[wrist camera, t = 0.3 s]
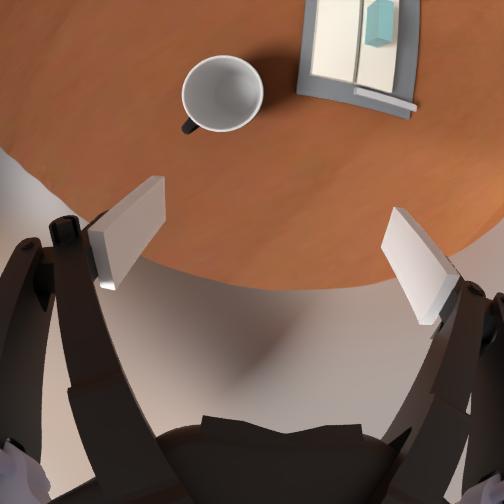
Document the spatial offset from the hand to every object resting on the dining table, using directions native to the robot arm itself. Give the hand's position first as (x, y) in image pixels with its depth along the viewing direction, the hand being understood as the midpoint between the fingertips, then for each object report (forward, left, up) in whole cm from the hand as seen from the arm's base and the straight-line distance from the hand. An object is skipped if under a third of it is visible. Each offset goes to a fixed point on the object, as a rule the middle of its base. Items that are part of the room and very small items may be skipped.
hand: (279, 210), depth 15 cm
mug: (-5, -8, -27) cm, 28 cm away
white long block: (-19, +12, -25) cm, 34 cm away
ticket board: (-19, +10, -27) cm, 34 cm away
